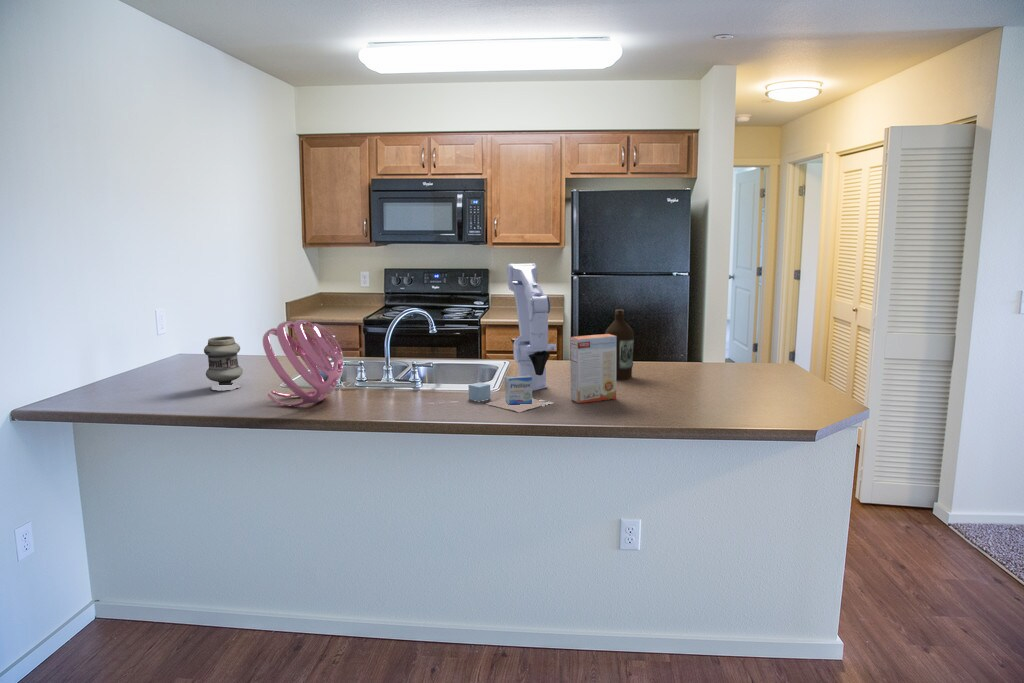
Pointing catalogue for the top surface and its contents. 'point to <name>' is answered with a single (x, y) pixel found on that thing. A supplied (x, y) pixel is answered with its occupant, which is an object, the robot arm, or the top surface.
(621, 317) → the olive oil
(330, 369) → the spiral basket
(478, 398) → the blue cube
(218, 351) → the apothecary jar
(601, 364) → the cracker box
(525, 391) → the medicine box
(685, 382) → the top surface
